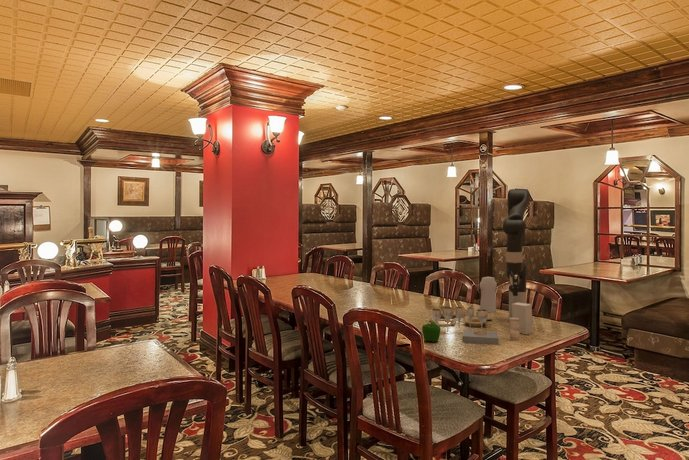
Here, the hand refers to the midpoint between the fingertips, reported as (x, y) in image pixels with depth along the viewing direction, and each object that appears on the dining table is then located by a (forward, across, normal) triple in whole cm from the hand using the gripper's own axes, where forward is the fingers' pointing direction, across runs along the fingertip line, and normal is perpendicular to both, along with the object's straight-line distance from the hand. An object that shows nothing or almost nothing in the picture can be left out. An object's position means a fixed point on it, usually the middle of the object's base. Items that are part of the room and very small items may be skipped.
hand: (514, 294), depth 220 cm
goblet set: (+22, -6, -26) cm, 35 cm away
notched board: (+22, +5, -16) cm, 28 cm away
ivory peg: (+22, 0, 0) cm, 22 cm away
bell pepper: (+22, +12, -39) cm, 46 cm away
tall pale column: (+22, -59, -10) cm, 64 cm away
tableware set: (+22, -32, -26) cm, 47 cm away
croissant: (+22, +22, -57) cm, 65 cm away
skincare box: (+22, -14, +5) cm, 27 cm away
